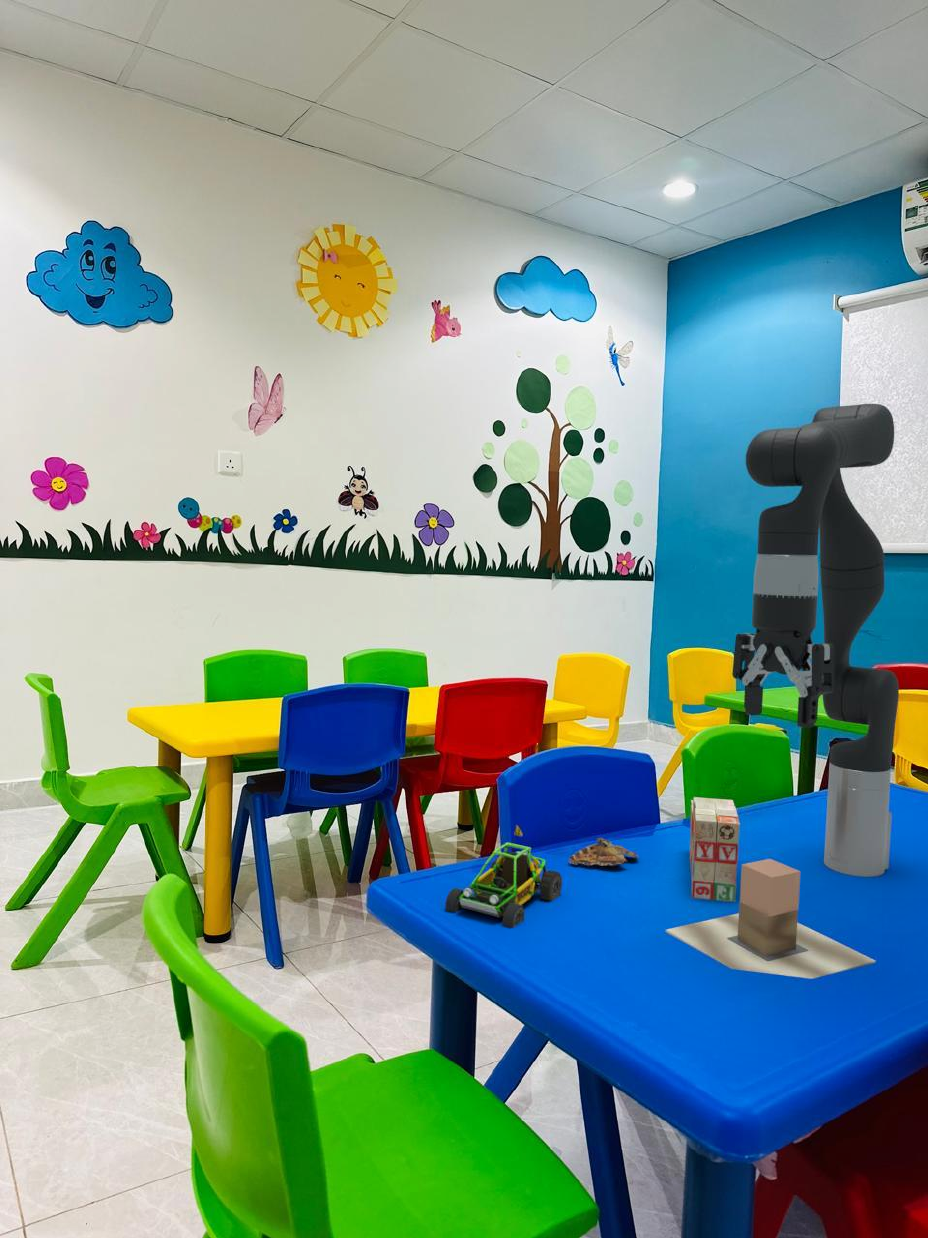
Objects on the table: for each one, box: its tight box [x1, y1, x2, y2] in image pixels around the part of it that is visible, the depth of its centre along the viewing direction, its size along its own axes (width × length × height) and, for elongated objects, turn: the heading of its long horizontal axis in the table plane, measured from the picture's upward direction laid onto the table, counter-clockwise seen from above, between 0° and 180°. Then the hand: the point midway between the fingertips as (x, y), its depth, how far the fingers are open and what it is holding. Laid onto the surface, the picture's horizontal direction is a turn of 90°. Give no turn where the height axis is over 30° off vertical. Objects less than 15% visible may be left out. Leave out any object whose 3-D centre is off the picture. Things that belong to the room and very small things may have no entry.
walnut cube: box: [738, 901, 799, 956], centre depth 115 cm, size 5×5×5 cm
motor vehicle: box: [444, 824, 563, 929], centre depth 128 cm, size 11×18×10 cm, turn 148°
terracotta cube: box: [739, 858, 801, 917], centre depth 114 cm, size 5×5×5 cm
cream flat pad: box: [665, 912, 876, 980], centre depth 115 cm, size 18×18×1 cm
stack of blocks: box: [689, 796, 741, 903], centre depth 141 cm, size 21×6×12 cm, turn 167°
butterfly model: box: [568, 837, 640, 867], centre depth 147 cm, size 9×12×3 cm
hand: (778, 720), depth 112 cm, fingers open, 8 cm apart
